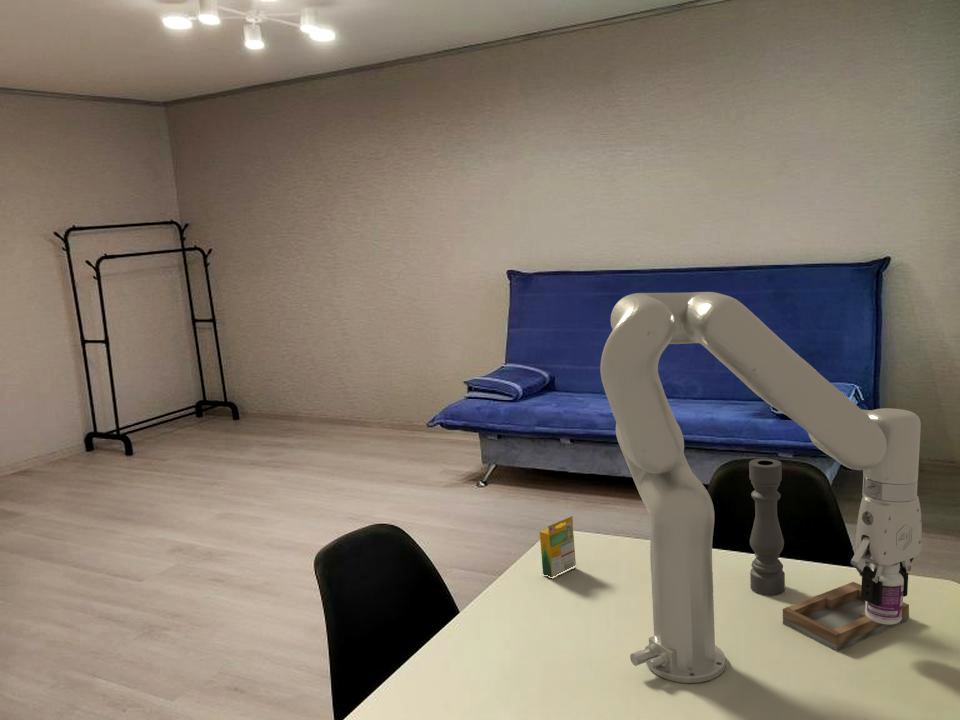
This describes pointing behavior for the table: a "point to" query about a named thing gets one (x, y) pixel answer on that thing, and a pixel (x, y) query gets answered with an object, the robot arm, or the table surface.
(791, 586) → the table surface
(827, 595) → the brown wooden tray
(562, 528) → the crayon box
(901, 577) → the pill bottle
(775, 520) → the candle holder
